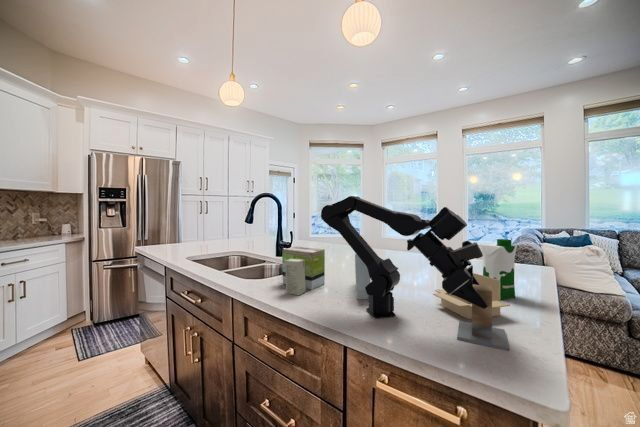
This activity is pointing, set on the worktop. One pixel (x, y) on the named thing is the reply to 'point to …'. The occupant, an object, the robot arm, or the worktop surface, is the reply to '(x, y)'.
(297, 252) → the tea box
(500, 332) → the slate coaster
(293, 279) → the skincare box
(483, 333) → the walnut box
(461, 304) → the cardboard carton
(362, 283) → the skincare box
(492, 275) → the milk carton
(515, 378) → the worktop surface
